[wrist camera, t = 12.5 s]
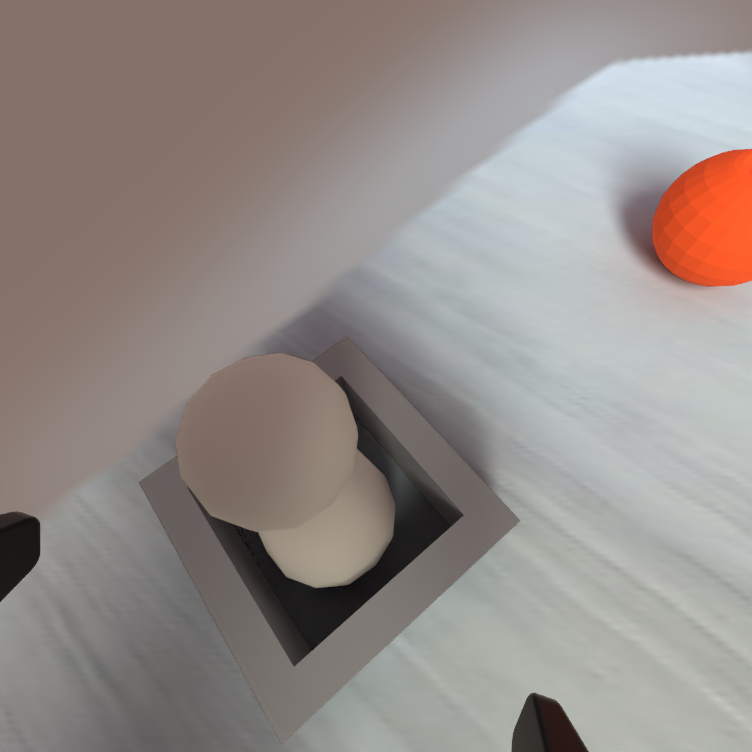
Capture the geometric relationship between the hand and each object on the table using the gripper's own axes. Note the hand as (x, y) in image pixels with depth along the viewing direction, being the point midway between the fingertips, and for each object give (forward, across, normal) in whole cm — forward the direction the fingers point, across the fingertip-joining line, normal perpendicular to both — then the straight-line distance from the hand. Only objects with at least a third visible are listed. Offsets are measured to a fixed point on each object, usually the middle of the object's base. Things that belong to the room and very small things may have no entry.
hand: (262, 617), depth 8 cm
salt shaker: (+13, +1, +7) cm, 14 cm away
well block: (+13, +1, +6) cm, 14 cm away
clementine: (+26, -15, -9) cm, 31 cm away
